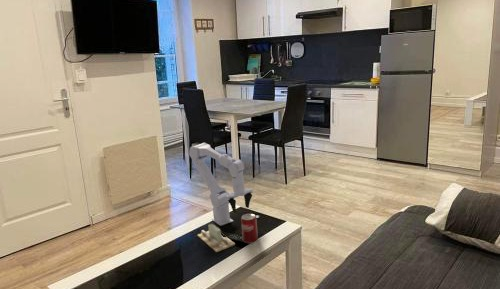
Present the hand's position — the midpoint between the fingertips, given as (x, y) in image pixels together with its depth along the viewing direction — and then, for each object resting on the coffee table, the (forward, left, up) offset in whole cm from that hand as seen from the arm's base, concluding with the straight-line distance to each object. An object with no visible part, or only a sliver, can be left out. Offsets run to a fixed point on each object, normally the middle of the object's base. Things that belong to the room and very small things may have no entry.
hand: (240, 209), depth 187 cm
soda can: (+15, -5, -10) cm, 18 cm away
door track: (+4, -18, -9) cm, 20 cm away
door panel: (+4, -18, -9) cm, 20 cm away
